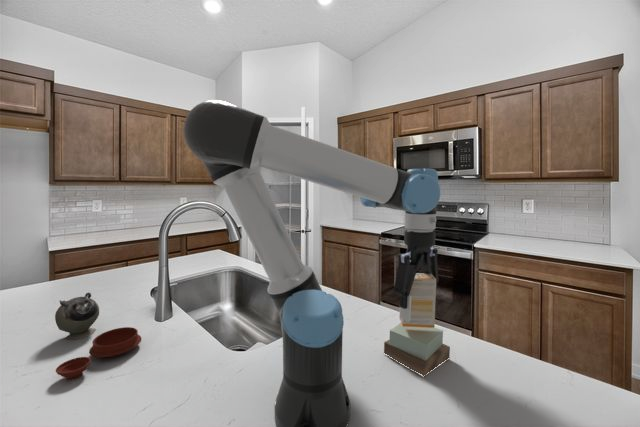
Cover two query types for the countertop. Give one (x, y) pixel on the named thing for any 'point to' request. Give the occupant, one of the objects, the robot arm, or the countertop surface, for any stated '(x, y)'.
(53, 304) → the countertop surface
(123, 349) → the pottery
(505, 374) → the countertop surface
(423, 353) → the tower top block
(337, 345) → the robot arm
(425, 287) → the supplement box
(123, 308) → the countertop surface
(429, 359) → the tower base block
